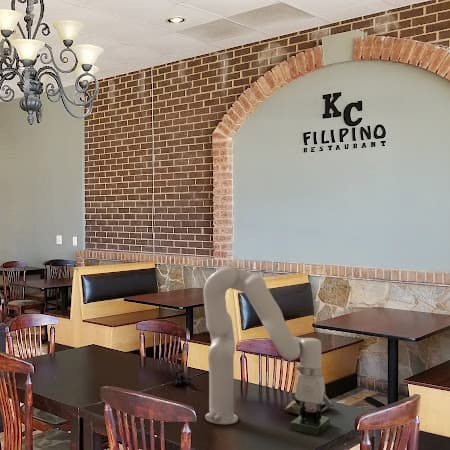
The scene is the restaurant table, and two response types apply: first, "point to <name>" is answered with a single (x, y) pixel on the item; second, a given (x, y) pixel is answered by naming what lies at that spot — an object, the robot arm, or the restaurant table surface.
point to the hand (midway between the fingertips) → (310, 418)
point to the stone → (295, 407)
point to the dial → (310, 414)
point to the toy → (180, 378)
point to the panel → (310, 425)
